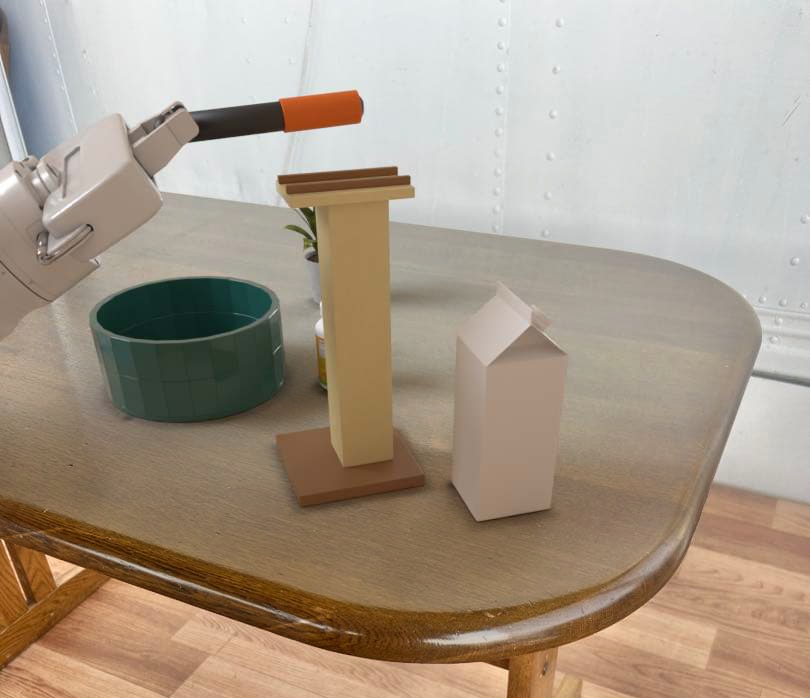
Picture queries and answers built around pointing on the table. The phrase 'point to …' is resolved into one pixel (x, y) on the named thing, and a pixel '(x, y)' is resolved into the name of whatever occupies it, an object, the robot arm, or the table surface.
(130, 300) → the pot
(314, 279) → the house plant
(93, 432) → the table surface
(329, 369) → the stand
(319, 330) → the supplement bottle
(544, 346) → the milk carton
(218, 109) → the marker
